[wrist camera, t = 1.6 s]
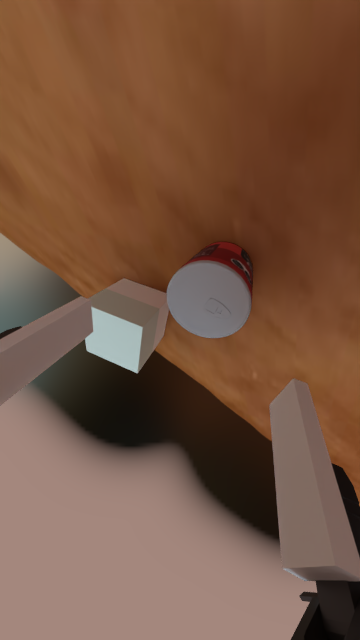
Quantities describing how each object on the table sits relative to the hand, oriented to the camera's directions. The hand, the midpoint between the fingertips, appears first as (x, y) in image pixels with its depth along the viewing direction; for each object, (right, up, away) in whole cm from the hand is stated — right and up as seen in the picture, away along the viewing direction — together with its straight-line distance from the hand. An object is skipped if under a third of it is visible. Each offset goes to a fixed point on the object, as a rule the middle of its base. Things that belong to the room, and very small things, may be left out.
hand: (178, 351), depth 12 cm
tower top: (-8, +2, +18) cm, 20 cm away
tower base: (-6, +4, +22) cm, 23 cm away
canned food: (+6, +9, +14) cm, 18 cm away
